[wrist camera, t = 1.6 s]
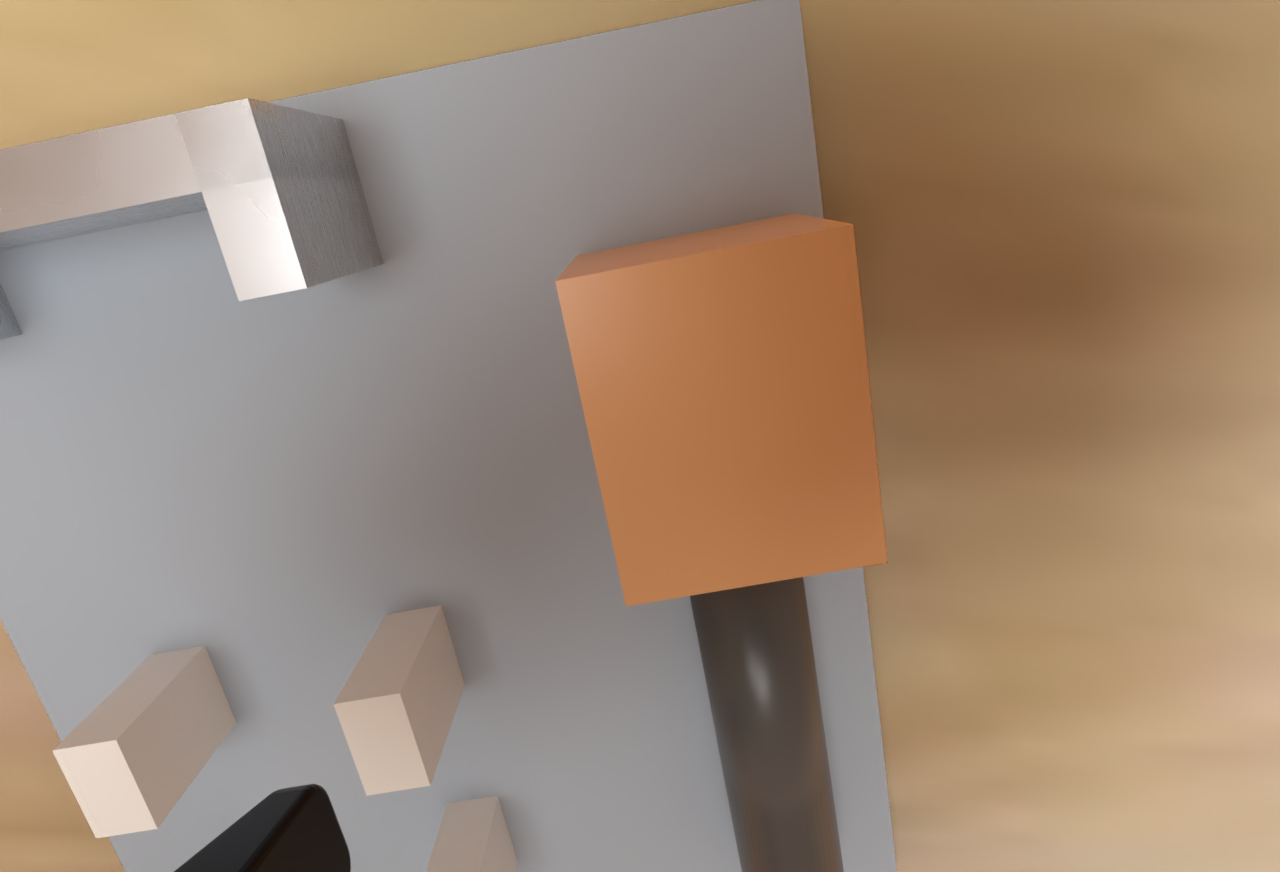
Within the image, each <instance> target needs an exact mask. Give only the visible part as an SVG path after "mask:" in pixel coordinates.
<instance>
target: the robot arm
mask: <svg viewBox="0 0 1280 872" xmlns="http://www.w3.org/2000/svg"><path fill="white" fill-rule="evenodd" d="M174 872H351V859H350V853H349V849H348V846H347V843H346V841H345V838H344V835H343V833H342V830H341V827H340V825H339V822H338V819H337V817H336V814H335V811H334V809H333V806H332V803H331V801H330V798H329V796H328V794H327V792H326V790H325V789H324V788H323V787H322V786H320V785H317V784H307V785H301V786H295V787H289V788H283V789H279V790H276V791H274V792H272V793H271V794H270V795H268V796H267V797H266V798H265V799H263V800H262V801H261V802H260V803H258V804H257V805H256V806H255V807H253V808H252V809H251V810H250V811H248V812H247V813H246V814H245V815H243V816H242V817H241V818H240V819H238V820H237V821H236V822H235V823H233V824H232V825H231V826H230V827H228V828H227V829H226V830H225V831H223V832H222V833H221V834H220V835H219V836H217V837H216V838H215V839H214V840H212V841H211V842H210V843H209V844H207V845H206V846H205V847H204V848H202V849H201V850H200V851H199V852H197V853H196V854H195V855H194V856H192V857H191V858H190V859H189V860H187V861H186V862H185V863H184V864H182V865H181V866H180V867H179V868H177V869H176V870H175V871H174Z"/></svg>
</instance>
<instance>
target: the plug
mask: <svg viewBox="0 0 1280 872" xmlns="http://www.w3.org/2000/svg"><path fill="white" fill-rule="evenodd" d="M555 283H556V287H557V292H558V297H559V301H560V306H561V310H562V315H563V320H564V324H565V329H566V333H567V338H568V343H569V347H570V352H571V356H572V361H573V365H574V370H575V375H576V379H577V384H578V388H579V393H580V398H581V402H582V407H583V411H584V416H585V421H586V425H587V430H588V434H589V439H590V444H591V448H592V453H593V457H594V462H595V466H596V471H597V476H598V480H599V485H600V489H601V494H602V499H603V503H604V508H605V512H606V517H607V522H608V526H609V531H610V535H611V540H612V545H613V549H614V554H615V558H616V563H617V568H618V572H619V577H620V581H621V586H622V590H623V595H624V600H625V604H626V607H627V606H633V605H639V604H645V603H651V602H657V601H662V600H668V599H674V598H680V597H686V596H690V600H691V605H692V611H693V616H694V621H695V627H696V632H697V637H698V642H699V648H700V653H701V658H702V664H703V669H704V674H705V680H706V685H707V690H708V695H709V701H710V706H711V711H712V717H713V722H714V727H715V732H716V738H717V743H718V748H719V754H720V759H721V764H722V769H723V775H724V780H725V785H726V791H727V796H728V801H729V807H730V812H731V817H732V822H733V828H734V833H735V838H736V844H737V849H738V854H739V859H740V865H741V870H742V872H844V869H843V862H842V854H841V847H840V840H839V833H838V825H837V818H836V811H835V804H834V796H833V789H832V782H831V775H830V768H829V760H828V753H827V746H826V739H825V731H824V724H823V717H822V710H821V702H820V695H819V688H818V681H817V674H816V666H815V659H814V652H813V645H812V637H811V630H810V623H809V616H808V608H807V601H806V594H805V587H804V580H803V577H805V576H811V575H817V574H823V573H829V572H835V571H841V570H847V569H853V568H859V567H865V566H871V565H877V564H883V563H888V561H887V552H886V542H885V532H884V522H883V512H882V502H881V492H880V482H879V472H878V463H877V453H876V443H875V433H874V423H873V413H872V403H871V393H870V383H869V373H868V364H867V354H866V344H865V334H864V324H863V314H862V304H861V294H860V284H859V275H858V265H857V255H856V245H855V235H854V225H853V224H851V223H845V222H840V221H834V220H829V219H823V218H818V217H812V216H807V215H801V214H796V213H794V214H789V215H784V216H778V217H773V218H768V219H763V220H758V221H753V222H747V223H742V224H737V225H732V226H727V227H721V228H716V229H711V230H706V231H701V232H695V233H690V234H685V235H680V236H675V237H670V238H664V239H659V240H654V241H649V242H644V243H638V244H633V245H628V246H623V247H618V248H613V249H607V250H602V251H597V252H592V253H587V254H581V255H577V256H576V257H575V258H574V259H573V261H572V262H571V263H570V264H569V265H568V266H567V268H566V269H565V270H564V271H563V272H562V274H561V275H560V276H559V277H558V278H557V279H556V281H555Z"/></svg>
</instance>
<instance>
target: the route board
mask: <svg viewBox="0 0 1280 872" xmlns="http://www.w3.org/2000/svg"><path fill="white" fill-rule="evenodd" d="M267 103H271V104H276V105H280V106H285V107H289V108H294V109H298V110H303V111H307V112H312V113H316V114H321V115H325V116H330V117H335V118H339V119H343V121H344V125H345V128H346V132H347V136H348V139H349V143H350V146H351V150H352V153H353V157H354V160H355V164H356V167H357V171H358V175H359V178H360V182H361V185H362V189H363V192H364V196H365V199H366V203H367V207H368V210H369V214H370V217H371V221H372V224H373V228H374V231H375V235H376V238H377V242H378V246H379V249H380V253H381V256H382V260H383V263H384V264H382V265H379V266H376V267H373V268H369V269H366V270H363V271H360V272H357V273H354V274H350V275H347V276H344V277H341V278H338V279H334V280H331V281H328V282H325V283H322V284H319V285H315V286H312V287H309V288H305V289H300V290H295V291H290V292H284V293H279V294H274V295H269V296H264V297H259V298H254V299H248V300H243V301H239V300H238V297H237V294H236V291H235V288H234V286H233V283H232V280H231V277H230V274H229V271H228V268H227V265H226V262H225V259H224V256H223V253H222V250H221V247H220V245H219V242H218V239H217V236H216V233H215V230H214V227H213V224H212V221H211V218H210V215H209V212H208V210H204V211H199V212H194V213H189V214H184V215H179V216H174V217H169V218H164V219H159V220H154V221H149V222H144V223H139V224H134V225H129V226H124V227H119V228H114V229H109V230H104V231H99V232H94V233H89V234H84V235H79V236H74V237H69V238H64V239H59V240H54V241H49V242H44V243H39V244H34V245H30V246H25V247H20V248H15V249H10V250H5V251H0V282H1V285H2V287H3V289H4V292H5V294H6V296H7V299H8V301H9V303H10V305H11V308H12V310H13V312H14V315H15V317H16V319H17V322H18V324H19V326H20V329H21V331H22V333H23V334H22V335H18V336H14V337H10V338H6V339H2V340H0V619H1V621H2V623H3V625H4V627H5V629H6V631H7V634H8V636H9V638H10V640H11V642H12V644H13V646H14V648H15V650H16V652H17V654H18V656H19V658H20V660H21V662H22V664H23V666H24V668H25V670H26V672H27V674H28V676H29V678H30V680H31V682H32V684H33V686H34V688H35V690H36V692H37V694H38V696H39V698H40V700H41V702H42V704H43V706H44V708H45V710H46V712H47V714H48V716H49V718H50V720H51V722H52V724H53V726H54V728H55V730H56V733H57V735H58V737H59V739H60V741H63V740H64V739H65V738H66V737H67V736H68V735H69V734H70V733H71V732H72V731H73V730H74V729H75V728H76V727H77V726H78V725H79V724H80V723H81V722H82V721H83V720H84V719H85V718H86V717H87V716H88V715H89V714H90V713H91V712H92V711H94V710H95V709H96V708H97V707H98V706H99V705H100V704H101V703H102V702H103V701H104V700H105V699H106V698H107V697H108V696H109V695H110V694H111V693H112V692H113V691H114V690H115V689H116V688H117V687H118V686H119V685H120V684H121V683H122V682H123V681H125V680H126V679H127V678H128V677H129V676H130V675H131V674H132V673H133V672H134V671H135V670H136V669H137V668H138V667H139V666H140V665H141V664H142V663H143V662H144V661H145V660H146V659H147V658H148V657H149V656H150V655H151V654H157V653H163V652H169V651H175V650H181V649H187V648H193V647H198V646H204V645H205V647H206V650H207V652H208V655H209V657H210V659H211V662H212V664H213V667H214V669H215V672H216V674H217V676H218V679H219V681H220V684H221V686H222V689H223V691H224V694H225V696H226V698H227V701H228V703H229V706H230V708H231V711H232V713H233V716H234V718H235V720H236V724H235V726H234V727H233V728H232V730H231V731H230V732H229V734H228V735H227V736H226V738H225V739H224V740H223V742H222V743H221V744H220V746H219V747H218V748H217V750H216V751H215V752H214V754H213V755H212V756H211V758H210V759H209V760H208V762H207V763H206V765H205V766H204V767H203V769H202V770H201V771H200V773H199V774H198V775H197V777H196V778H195V779H194V781H193V782H192V783H191V785H190V786H189V787H188V789H187V790H186V791H185V793H184V794H183V795H182V797H181V798H180V799H179V801H178V802H177V803H176V805H175V806H174V808H173V809H172V810H171V812H170V813H169V814H168V816H167V817H166V818H165V820H164V821H163V822H162V824H161V825H160V826H159V828H158V829H153V830H147V831H141V832H134V833H128V834H122V835H115V836H109V837H108V838H109V840H110V842H111V844H112V846H113V848H114V850H115V852H116V854H117V856H118V858H119V860H120V862H121V864H122V866H123V868H124V870H125V872H174V871H175V870H176V869H177V868H179V867H180V866H181V865H182V864H184V863H185V862H186V861H187V860H189V859H190V858H191V857H192V856H194V855H195V854H196V853H197V852H199V851H200V850H201V849H202V848H204V847H205V846H206V845H207V844H209V843H210V842H211V841H212V840H214V839H215V838H216V837H217V836H219V835H220V834H221V833H222V832H223V831H225V830H226V829H227V828H228V827H230V826H231V825H232V824H233V823H235V822H236V821H237V820H238V819H240V818H241V817H242V816H243V815H245V814H246V813H247V812H248V811H250V810H251V809H252V808H253V807H255V806H256V805H257V804H258V803H260V802H261V801H262V800H263V799H265V798H266V797H267V796H268V795H270V794H271V793H272V792H274V791H276V790H279V789H283V788H289V787H295V786H301V785H307V784H317V785H320V786H322V787H323V788H324V789H325V790H326V792H327V794H328V796H329V798H330V801H331V803H332V806H333V809H334V811H335V814H336V817H337V819H338V822H339V825H340V827H341V830H342V833H343V835H344V838H345V841H346V843H347V846H348V849H349V853H350V859H351V872H426V870H427V867H428V864H429V860H430V857H431V854H432V851H433V847H434V844H435V841H436V838H437V834H438V831H439V828H440V825H441V821H442V818H443V815H444V811H445V808H446V805H447V803H452V802H459V801H465V800H472V799H478V798H484V797H491V796H497V795H498V798H499V801H500V804H501V808H502V811H503V814H504V818H505V821H506V824H507V828H508V831H509V834H510V838H511V841H512V845H513V848H514V851H515V855H516V858H517V861H518V866H517V871H516V872H742V870H741V865H740V859H739V854H738V849H737V844H736V838H735V833H734V828H733V822H732V817H731V812H730V807H729V801H728V796H727V791H726V785H725V780H724V775H723V769H722V764H721V759H720V754H719V748H718V743H717V738H716V732H715V727H714V722H713V717H712V711H711V706H710V701H709V695H708V690H707V685H706V680H705V674H704V669H703V664H702V658H701V653H700V648H699V642H698V637H697V632H696V627H695V621H694V616H693V611H692V605H691V600H690V596H686V597H680V598H674V599H668V600H662V601H657V602H651V603H645V604H639V605H633V606H627V607H626V604H625V600H624V595H623V590H622V586H621V581H620V577H619V572H618V568H617V563H616V558H615V554H614V549H613V545H612V540H611V535H610V531H609V526H608V522H607V517H606V512H605V508H604V503H603V499H602V494H601V489H600V485H599V480H598V476H597V471H596V466H595V462H594V457H593V453H592V448H591V444H590V439H589V434H588V430H587V425H586V421H585V416H584V411H583V407H582V402H581V398H580V393H579V388H578V384H577V379H576V375H575V370H574V365H573V361H572V356H571V352H570V347H569V343H568V338H567V333H566V329H565V324H564V320H563V315H562V310H561V306H560V301H559V297H558V292H557V287H556V283H555V281H556V279H557V278H558V277H559V276H560V275H561V274H562V272H563V271H564V270H565V269H566V268H567V266H568V265H569V264H570V263H571V262H572V261H573V259H574V258H575V257H576V256H577V255H581V254H587V253H592V252H597V251H602V250H607V249H613V248H618V247H623V246H628V245H633V244H638V243H644V242H649V241H654V240H659V239H664V238H670V237H675V236H680V235H685V234H690V233H695V232H701V231H706V230H711V229H716V228H721V227H727V226H732V225H737V224H742V223H747V222H753V221H758V220H763V219H768V218H773V217H778V216H784V215H789V214H794V213H796V214H801V215H807V216H812V217H818V218H823V219H824V215H823V206H822V197H821V188H820V179H819V170H818V161H817V152H816V143H815V134H814V125H813V117H812V108H811V99H810V90H809V81H808V72H807V63H806V54H805V45H804V36H803V27H802V18H801V9H800V0H758V1H753V2H748V3H743V4H738V5H734V6H729V7H724V8H719V9H714V10H710V11H705V12H700V13H695V14H690V15H686V16H681V17H676V18H671V19H666V20H661V21H657V22H652V23H647V24H642V25H637V26H633V27H628V28H623V29H618V30H613V31H608V32H604V33H599V34H594V35H589V36H584V37H580V38H575V39H570V40H565V41H560V42H556V43H551V44H546V45H541V46H536V47H531V48H527V49H522V50H517V51H512V52H507V53H503V54H498V55H493V56H488V57H483V58H479V59H474V60H469V61H464V62H459V63H454V64H450V65H445V66H440V67H435V68H430V69H426V70H421V71H416V72H411V73H406V74H402V75H397V76H392V77H387V78H382V79H377V80H373V81H368V82H363V83H358V84H353V85H349V86H344V87H339V88H334V89H329V90H325V91H320V92H315V93H310V94H305V95H300V96H296V97H291V98H286V99H281V100H276V101H272V102H267ZM803 580H804V587H805V594H806V601H807V608H808V616H809V623H810V630H811V637H812V645H813V652H814V659H815V666H816V674H817V681H818V688H819V695H820V702H821V710H822V717H823V724H824V731H825V739H826V746H827V753H828V760H829V768H830V775H831V782H832V789H833V796H834V804H835V811H836V818H837V825H838V833H839V840H840V847H841V854H842V862H843V869H844V872H897V867H896V858H895V849H894V840H893V831H892V822H891V814H890V805H889V796H888V787H887V778H886V769H885V760H884V751H883V742H882V733H881V724H880V715H879V706H878V697H877V688H876V680H875V671H874V662H873V653H872V644H871V635H870V626H869V617H868V608H867V599H866V590H865V581H864V572H863V567H859V568H853V569H847V570H841V571H835V572H829V573H823V574H817V575H811V576H805V577H803ZM439 605H441V607H442V610H443V614H444V617H445V620H446V624H447V627H448V630H449V634H450V637H451V640H452V644H453V647H454V650H455V654H456V657H457V660H458V664H459V667H460V670H461V674H462V677H463V681H464V684H465V686H464V689H463V692H462V695H461V698H460V701H459V704H458V707H457V710H456V713H455V716H454V718H453V721H452V724H451V727H450V730H449V733H448V736H447V739H446V742H445V745H444V748H443V750H442V753H441V756H440V759H439V762H438V765H437V768H436V771H435V774H434V777H433V780H432V782H431V785H430V786H426V787H419V788H413V789H407V790H400V791H394V792H388V793H381V794H375V795H369V796H366V793H365V790H364V787H363V785H362V782H361V779H360V776H359V774H358V771H357V768H356V765H355V763H354V760H353V757H352V754H351V752H350V749H349V746H348V743H347V740H346V738H345V735H344V732H343V729H342V727H341V724H340V721H339V718H338V716H337V713H336V710H335V707H334V705H333V704H334V702H335V701H336V699H337V697H338V696H339V694H340V692H341V690H342V689H343V687H344V685H345V684H346V682H347V680H348V678H349V677H350V675H351V673H352V672H353V670H354V668H355V666H356V665H357V663H358V661H359V660H360V658H361V656H362V654H363V653H364V651H365V649H366V648H367V646H368V644H369V642H370V641H371V639H372V637H373V636H374V634H375V632H376V630H377V629H378V627H379V625H380V624H381V622H382V620H383V618H384V617H385V615H386V614H392V613H398V612H404V611H410V610H416V609H421V608H427V607H433V606H439Z"/></svg>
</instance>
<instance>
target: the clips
mask: <svg viewBox="0 0 1280 872" xmlns="http://www.w3.org/2000/svg"><path fill="white" fill-rule="evenodd" d="M464 686H465V684H464V681H463V677H462V674H461V670H460V667H459V664H458V660H457V657H456V654H455V650H454V647H453V644H452V640H451V637H450V634H449V630H448V627H447V624H446V620H445V617H444V614H443V610H442V607H441V605H439V606H433V607H427V608H421V609H416V610H410V611H404V612H398V613H392V614H386V615H385V617H384V618H383V620H382V622H381V624H380V625H379V627H378V629H377V630H376V632H375V634H374V636H373V637H372V639H371V641H370V642H369V644H368V646H367V648H366V649H365V651H364V653H363V654H362V656H361V658H360V660H359V661H358V663H357V665H356V666H355V668H354V670H353V672H352V673H351V675H350V677H349V678H348V680H347V682H346V684H345V685H344V687H343V689H342V690H341V692H340V694H339V696H338V697H337V699H336V701H335V702H334V704H333V705H334V707H335V710H336V713H337V716H338V718H339V721H340V724H341V727H342V729H343V732H344V735H345V738H346V740H347V743H348V746H349V749H350V752H351V754H352V757H353V760H354V763H355V765H356V768H357V771H358V774H359V776H360V779H361V782H362V785H363V787H364V790H365V793H366V796H369V795H375V794H381V793H388V792H394V791H400V790H407V789H413V788H419V787H426V786H430V785H431V782H432V780H433V777H434V774H435V771H436V768H437V765H438V762H439V759H440V756H441V753H442V750H443V748H444V745H445V742H446V739H447V736H448V733H449V730H450V727H451V724H452V721H453V718H454V716H455V713H456V710H457V707H458V704H459V701H460V698H461V695H462V692H463V689H464ZM235 724H236V720H235V718H234V716H233V713H232V711H231V708H230V706H229V703H228V701H227V698H226V696H225V694H224V691H223V689H222V686H221V684H220V681H219V679H218V676H217V674H216V672H215V669H214V667H213V664H212V662H211V659H210V657H209V655H208V652H207V650H206V647H205V645H204V646H198V647H193V648H187V649H181V650H175V651H169V652H163V653H157V654H151V655H150V656H149V657H148V658H147V659H146V660H145V661H144V662H143V663H142V664H141V665H140V666H139V667H138V668H137V669H136V670H135V671H134V672H133V673H132V674H131V675H130V676H129V677H128V678H127V679H126V680H125V681H123V682H122V683H121V684H120V685H119V686H118V687H117V688H116V689H115V690H114V691H113V692H112V693H111V694H110V695H109V696H108V697H107V698H106V699H105V700H104V701H103V702H102V703H101V704H100V705H99V706H98V707H97V708H96V709H95V710H94V711H92V712H91V713H90V714H89V715H88V716H87V717H86V718H85V719H84V720H83V721H82V722H81V723H80V724H79V725H78V726H77V727H76V728H75V729H74V730H73V731H72V732H71V733H70V734H69V735H68V736H67V737H66V738H65V739H64V740H63V741H61V742H60V743H59V744H58V745H57V746H56V747H55V748H54V749H53V750H52V751H53V753H54V755H55V757H56V759H57V761H58V763H59V765H60V767H61V769H62V771H63V773H64V775H65V777H66V779H67V781H68V783H69V785H70V787H71V789H72V791H73V793H74V795H75V797H76V799H77V801H78V803H79V805H80V807H81V809H82V811H83V813H84V815H85V817H86V819H87V821H88V823H89V825H90V827H91V829H92V831H93V833H94V835H95V837H96V838H103V837H109V836H115V835H122V834H128V833H134V832H141V831H147V830H153V829H158V828H159V826H160V825H161V824H162V822H163V821H164V820H165V818H166V817H167V816H168V814H169V813H170V812H171V810H172V809H173V808H174V806H175V805H176V803H177V802H178V801H179V799H180V798H181V797H182V795H183V794H184V793H185V791H186V790H187V789H188V787H189V786H190V785H191V783H192V782H193V781H194V779H195V778H196V777H197V775H198V774H199V773H200V771H201V770H202V769H203V767H204V766H205V765H206V763H207V762H208V760H209V759H210V758H211V756H212V755H213V754H214V752H215V751H216V750H217V748H218V747H219V746H220V744H221V743H222V742H223V740H224V739H225V738H226V736H227V735H228V734H229V732H230V731H231V730H232V728H233V727H234V726H235ZM517 866H518V861H517V858H516V855H515V851H514V848H513V845H512V841H511V838H510V834H509V831H508V828H507V824H506V821H505V818H504V814H503V811H502V808H501V804H500V801H499V798H498V795H497V796H491V797H484V798H478V799H472V800H465V801H459V802H452V803H447V805H446V808H445V811H444V815H443V818H442V821H441V825H440V828H439V831H438V834H437V838H436V841H435V844H434V847H433V851H432V854H431V857H430V860H429V864H428V867H427V870H426V872H516V871H517Z"/></svg>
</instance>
